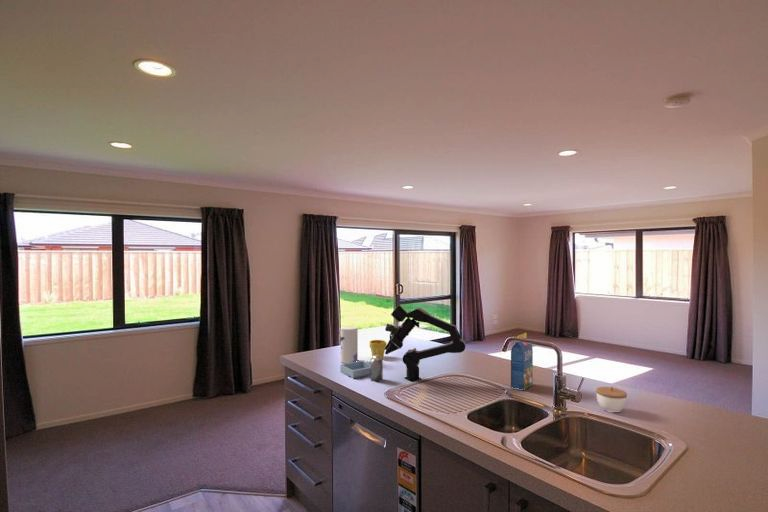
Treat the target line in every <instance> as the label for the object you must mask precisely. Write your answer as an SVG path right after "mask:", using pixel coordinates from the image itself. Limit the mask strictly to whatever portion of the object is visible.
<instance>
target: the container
mask: <svg viewBox="0 0 768 512" xmlns="http://www.w3.org/2000/svg"><path fill="white" fill-rule="evenodd" d="M358 333H359V331H358V327H357V326H354V325H353V326H352V325H351V326H349V325H348V326H342V327H340V363H342V362H343V363H342V364H347V363H353V362H356V361H357V362H358V361H359V359H358V356H359V355H358V353H359V351H358V350H359V349H358V345H359V344H358V338H359V337H358V336H359V335H358Z"/></svg>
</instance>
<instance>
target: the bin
mask: <svg viewBox="0 0 768 512" xmlns="http://www.w3.org/2000/svg"><path fill="white" fill-rule="evenodd" d="M339 366H340V371H339V372H340V373H341V372H342V373H341V374H343V373H344V374H343V375H345V374H346V375H345V376H347V375H348V376H347V377H349V376H350V377H349V378H351V377H352V378H355V379H358V378H357V377H360V378H363V377H362V376H365V377H368V376H367V375H370V376H371V363H369V362H367V361H365V360H360V361H359V360H358V361H357V362H353V363H341V364H340V365H339ZM352 378H351V379H352Z"/></svg>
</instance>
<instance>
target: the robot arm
mask: <svg viewBox="0 0 768 512" xmlns="http://www.w3.org/2000/svg"><path fill="white" fill-rule="evenodd" d="M390 316H392V318H393V319H395V320H396V321H397V322H398V323H399V322H401V325H398V326H396V325H394V324H390V323H387V324H386V325H385V330H384V331H386V332H390V333H389V340H388V342H387V343H386V347H385V351H384V355H388V354H391V353H393V352H395V351H397V350H399V349H402V348H403V346H404V340H405V339H406V337H408V336H409V335H410V333H411V332H412V330H413V329H414V328H415V327H417V328H418V329H419V328H420V322H421V323H426V324H429V325H431V326H434V327H436V328H438V329H441V330H443V331H445V332H448V334H449V335H450V337H451V341H449V342H448V343H446V344H442V345H438V346H434V347H429V348H426V349H422V350H417V348H416V347H414V348H412V349H408V350H407V351H406V352H405V353H404V354H403V356H402V357H401V358H402V362H403V364H404V365H405V366H406V367H405V368H406V376H405V377H404V379H406V380H407V381H410V382H417V381H420V380H422V379H423V378H422V377H420V367H419V365H420V362H421V361H422V360H424V359H428V358H432V357H436V356H441V355H444V354H450V353H451V354H459V353H464V351H465V350H466V347H467V345H466V340H465V339H464V338H462V337H461V333H460V332H459V330H458V327H457V326H456V325H455V324H453V323H450V322H447V321H445V320H443V319H441V318H438V317H435V316H433V315H431V314H430V313H428V311H426V310H424V309H423V308H421V307H417V308H415V309H414V310H411V311H407V310H406V309H405V308H403V306H401V305H398V306H397V307H396V308H395V310H393V311H392V312H391V313H390Z"/></svg>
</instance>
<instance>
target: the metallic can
mask: <svg viewBox="0 0 768 512" xmlns="http://www.w3.org/2000/svg"><path fill="white" fill-rule="evenodd" d="M383 360H384V359H383V358H381V357H380V356H379V355H375V356H373V357H371V358H370V364H371V375H370V381H371V382H373V381H375V382H374V383H379V381H380V382H383V379H384V378H383V377H384V376H383V374H384V373H383V372H384V370H383V369H384V368H383V367H384V366H383V365H384V364H383V363H384V361H383Z"/></svg>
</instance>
